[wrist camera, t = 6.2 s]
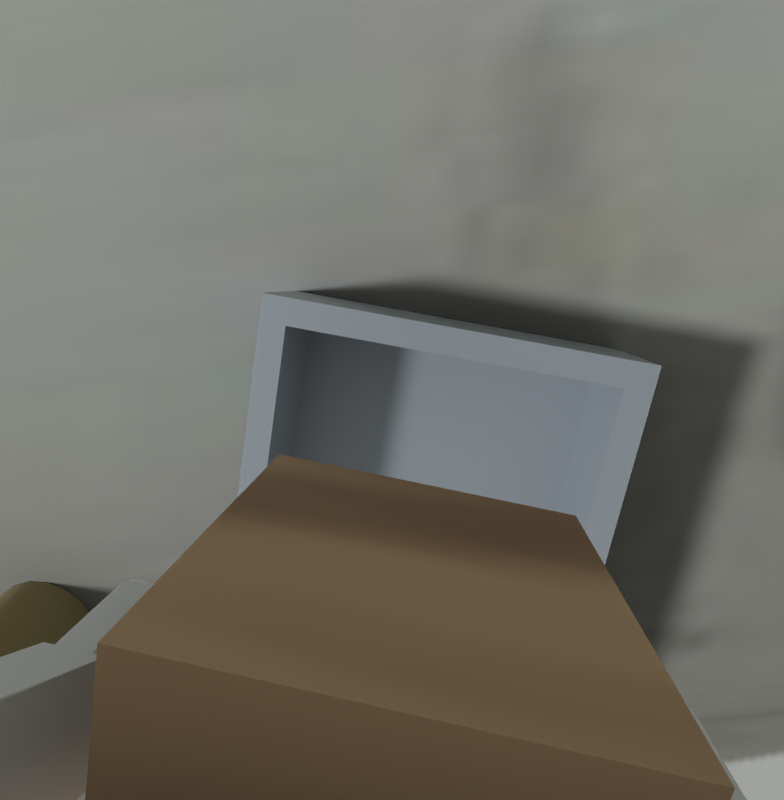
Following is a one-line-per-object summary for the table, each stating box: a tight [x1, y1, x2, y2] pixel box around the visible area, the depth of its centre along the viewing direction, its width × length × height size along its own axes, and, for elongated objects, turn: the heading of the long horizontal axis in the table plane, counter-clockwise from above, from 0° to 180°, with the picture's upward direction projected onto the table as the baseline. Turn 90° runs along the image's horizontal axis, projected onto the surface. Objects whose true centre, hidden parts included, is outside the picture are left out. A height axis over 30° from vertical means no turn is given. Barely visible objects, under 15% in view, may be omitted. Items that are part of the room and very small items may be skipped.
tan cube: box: [85, 454, 735, 800], centre depth 7 cm, size 5×5×5 cm
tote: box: [237, 291, 662, 565], centre depth 23 cm, size 18×14×5 cm
